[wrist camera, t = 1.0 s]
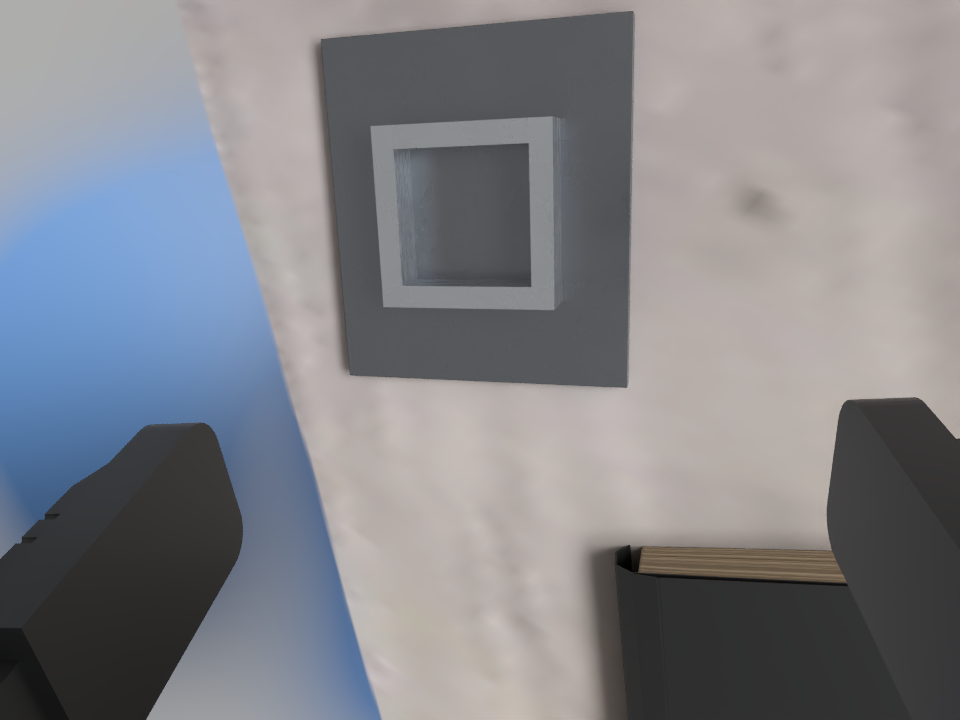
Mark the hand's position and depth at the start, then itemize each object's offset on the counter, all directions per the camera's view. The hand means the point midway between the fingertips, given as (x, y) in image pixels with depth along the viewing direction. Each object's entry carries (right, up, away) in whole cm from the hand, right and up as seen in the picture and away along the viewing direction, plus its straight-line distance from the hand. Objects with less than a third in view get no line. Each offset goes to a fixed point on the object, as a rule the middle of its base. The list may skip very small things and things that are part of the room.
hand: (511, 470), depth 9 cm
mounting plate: (0, +8, +25) cm, 26 cm away
